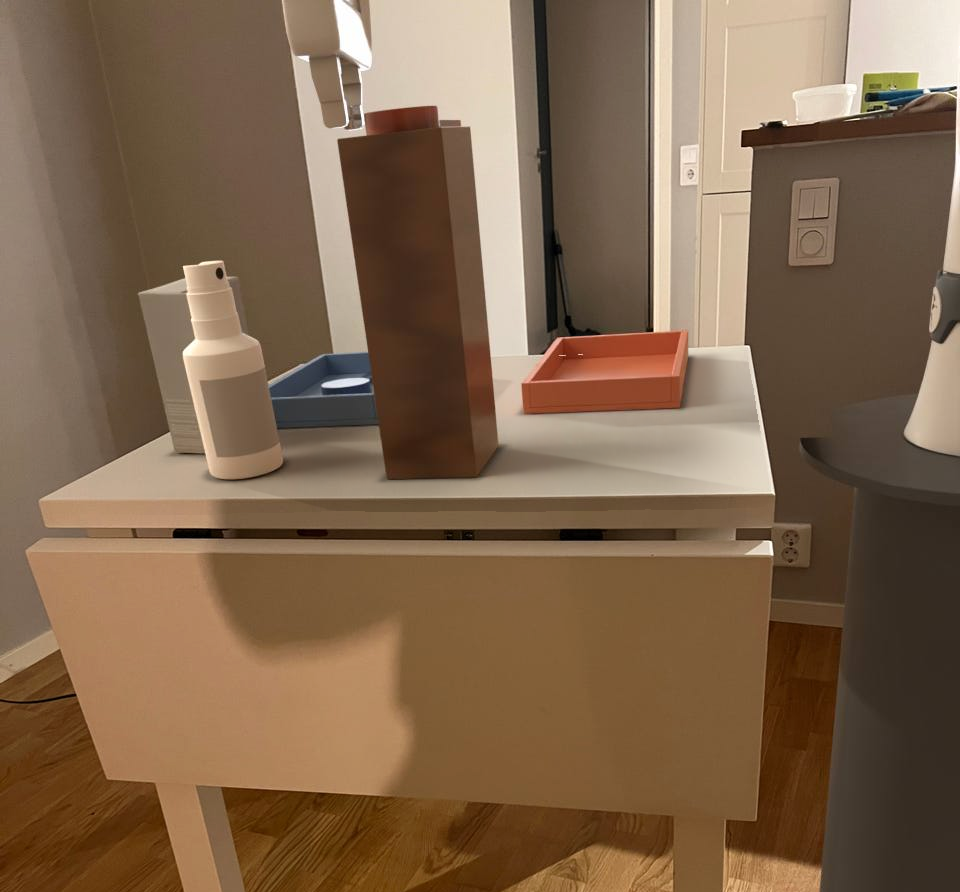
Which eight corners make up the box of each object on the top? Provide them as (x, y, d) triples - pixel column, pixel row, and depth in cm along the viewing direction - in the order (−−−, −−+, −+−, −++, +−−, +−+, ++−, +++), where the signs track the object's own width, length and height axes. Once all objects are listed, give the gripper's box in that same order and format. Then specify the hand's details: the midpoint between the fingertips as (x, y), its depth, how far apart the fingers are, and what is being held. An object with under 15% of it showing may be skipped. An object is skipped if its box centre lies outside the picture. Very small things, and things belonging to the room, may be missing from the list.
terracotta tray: (688, 356, 113) (688, 329, 112) (679, 407, 93) (679, 375, 92) (558, 363, 117) (557, 337, 116) (523, 414, 97) (521, 383, 96)
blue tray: (442, 372, 119) (439, 347, 118) (383, 424, 99) (379, 394, 97) (325, 378, 123) (321, 354, 121) (246, 429, 103) (240, 400, 101)
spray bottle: (250, 483, 85) (204, 268, 76) (194, 478, 88) (144, 270, 80) (298, 460, 90) (260, 256, 82) (244, 456, 93) (201, 259, 85)
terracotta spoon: (483, 127, 84) (481, 107, 84) (428, 128, 69) (426, 105, 68) (423, 134, 86) (421, 115, 85) (356, 136, 70) (353, 113, 70)
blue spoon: (408, 369, 122) (407, 357, 121) (362, 400, 106) (360, 386, 106) (367, 372, 123) (366, 360, 123) (315, 402, 108) (313, 388, 107)
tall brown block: (498, 446, 88) (470, 126, 76) (476, 477, 80) (441, 126, 68) (415, 448, 89) (375, 137, 78) (386, 479, 82) (336, 138, 70)
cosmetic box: (216, 431, 103) (181, 276, 96) (274, 431, 100) (242, 272, 93) (170, 455, 96) (128, 289, 89) (230, 455, 94) (192, 285, 86)
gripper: (333, -115, 63) (367, 121, 69) (372, -57, 81) (396, 126, 88) (240, -102, 64) (282, 131, 70) (299, -47, 82) (328, 135, 88)
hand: (346, 128), depth 79 cm, fingers open, 8 cm apart
